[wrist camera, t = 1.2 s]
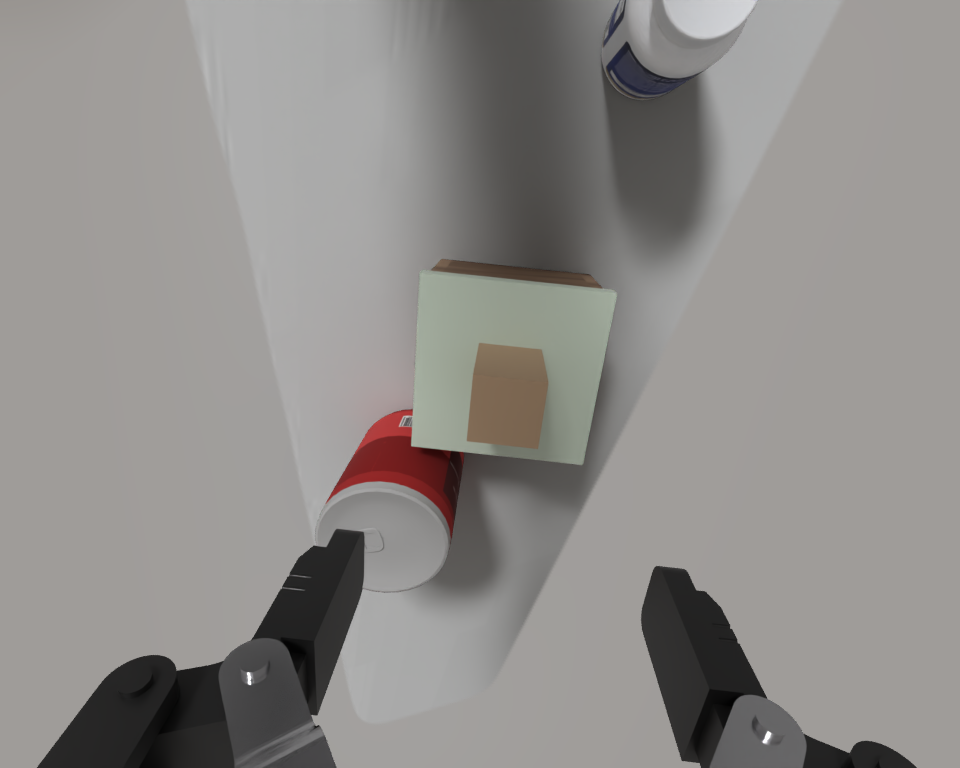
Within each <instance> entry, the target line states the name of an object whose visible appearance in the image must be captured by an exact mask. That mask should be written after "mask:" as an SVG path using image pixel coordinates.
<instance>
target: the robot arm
mask: <svg viewBox="0 0 960 768" xmlns="http://www.w3.org/2000/svg"><path fill="white" fill-rule="evenodd" d="M364 548H365V536H364V532H362V531H353V530H345V529H336V530H335V531H334V533H333V535H332V537H331V539H330V541H329V543H328V545H327V547H321V546H313V547H311V548H310V549H309V550H308V551H307V552H305V553H304V554H303V555H302V556H300V557H299V558H298V560H297V562H296V563H295V565H294V567H293V569H292V570H291V572H290V575H289V577H287V579H286V581H285V583H284V584H283V586H282V589H281V590H280V591H279V593H278V595H277V597H276V598H275V600H274V602H273V604H272V606H271V607H270V609H269V611H268V612H267V614H266V616H265V618H264V619H263V621H262V623H261V625H260V626H259V628H258V630H257V632H256V633H255V635H254V637H253V638H252V640H251V641H248V642H246V643H244V644H242V645H240V646H239V647H237V648H236V649H234V650H233V651H232V652H231V653H230V654H229V655H228V656H227V657H226V659H225V660H224V661H222V662H219V663H216V664H212V665H208V666H202V667H196V668H191V669H185V670H180V671H176V667H175V664H174V663H173V662H172V661H171V660H170V659H169V658H167V657H164V656H160V655H149V656H143V657H139V658H136V659H134V660H131V661H129V662H127V663H125V664H123V665H121V666H120V667H118V668H117V669H115V670H114V671H113V672H111V673H110V674H109V675H108V676H107V677H106V678H105V679H104V680H103V681H102V683H101V684H100V685H99V686H98V688H97V689H96V691H95V692H94V693H93V694H92V696H91V697H90V698H89V700H88V701H87V702H86V704H85V705H84V706H83V708H82V709H81V710H80V712H79V713H78V714H77V715H76V717H75V718H74V720H73V721H72V722H71V723H70V725H69V726H68V727H67V729H66V730H65V731H64V733H63V734H62V735H61V737H60V738H59V740H58V741H57V742H56V743H55V745H54V746H53V747H52V748H51V750H50V751H49V753H48V754H47V755H46V757H45V758H44V759H43V760H42V762H41V763H40V764H39V766H38V767H37V768H336V765H335V762H334V760H333V757H332V754H331V751H330V748H329V746H328V743H327V740H326V737H325V735H324V733H323V731H322V729H321V727H320V726H319V725H318V726H315V724H314V722H313V720H312V716H311V715H318V712H319V709H320V706H321V704H322V701H323V698H324V696H325V693H326V690H327V687H328V685H329V682H330V679H331V676H332V674H333V671H334V668H335V665H336V663H337V660H338V657H339V654H340V652H341V649H342V646H343V643H344V641H345V638H346V635H347V632H348V630H349V627H350V624H351V621H352V619H353V616H354V613H355V610H356V608H357V605H358V602H359V599H360V596H361V592H362V588H363V582H364ZM641 623H642V631H643V635H644V638H645V641H646V645H647V648H648V651H649V654H650V658H651V661H652V664H653V668H654V671H655V674H656V677H657V681H658V684H659V687H660V691H661V694H662V697H663V700H664V704H665V707H666V710H667V714H668V717H669V720H670V723H671V727H672V730H673V733H674V737H675V740H676V743H677V747H678V750H679V752H680V756H681V760H682V761H688V762H696V763H700V766H701V768H916V766H914V765H913V764H912V763H911V762H910V761H909V760H907V759H906V758H905V757H903V756H902V755H901V754H899V753H898V752H896V751H894V750H893V749H891V748H889V747H887V746H884V745H882V744H879V743H876V742H872V741H861V742H858V743H856V744H855V745H854V746H853V748H852V750H851V752H850V753H847V752H845V751H842V750H840V749H838V748H835V747H833V746H830V745H828V744H825V743H823V742H820V741H818V740H816V739H813V738H811V737H809V736H807V735H805V734H803V732H802V730H801V729H800V727H799V725H798V724H797V722H796V721H795V720H794V719H793V718H792V717H791V716H790V715H789V714H788V713H787V712H786V711H785V710H784V709H783V708H781V707H780V706H779V705H777V704H775V703H774V702H772V701H770V700H768V699H767V697H766V695H765V693H764V691H763V689H762V687H761V685H760V683H759V681H758V679H757V678H756V676H755V673H754V672H753V669H752V668H751V666H750V664H749V662H748V660H747V658H746V656H745V654H744V652H743V650H742V648H741V646H740V644H738V643H737V638H736V636H735V634H734V632H733V630H732V629H730V624H729V622H728V620H727V619H726V616H725V615H724V613H723V611H722V609H721V607H720V606H719V605H718V604H717V603H716V602H715V601H714V600H713V599H712V598H711V597H710V596H709V595H708V594H707V593H706V592H705V591H696V589H695V587H694V585H693V583H692V581H691V579H690V576H689V574H688V572H687V571H686V570H685V569H679V568H670V567H662V566H656V567H655V568H654V570H653V572H652V576H651V580H650V583H649V586H648V590H647V593H646V597H645V600H644V604H643V607H642V614H641Z"/></svg>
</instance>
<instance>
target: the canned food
mask: <svg viewBox="0 0 960 768" xmlns="http://www.w3.org/2000/svg"><path fill="white" fill-rule="evenodd" d="M412 418H413V409H411V410H401V411H397V412H394V413H392V414H389V415H387V416H385V417H383V418H381V419H380V420H379V421H377V422H376V423H375V424H374V425H373V426H372V427H371V428H370V429H369V430H368V432H367V434H366V435H365V437H364V439H363V440H362V442H361V444H360V445H359V447H358V449H357V451H356V452H355V454H354V456H353V457H352V459H351V461H350V462H349V464H348V466H347V468H346V469H345V471H344V473H343V474H342V476H341V478H340V479H339V481H338V483H337V484H336V486H335V488H334V490H333V491H332V493H331V495H330V497H329V498H328V500H327V502H326V504H325V506H324V508H323V509H322V511H321V513H320V516H319V519H318V521H317V525H316V529H315V541H316V545H317V546H321V547H327V545H328V543H329V541H330V539H331V537H332V535H333V533H334V531H335V530H336V529H345V530H353V531H362V532H364V536H365V548H364V582H363V588H362V589H366V590H370V591H375V592H384V593H388V592H401V591H406V590H410V589H413V588H416V587H419V586H421V585H423V584H424V583H426V582H428V581H429V580H431V579H432V578H433V577H434V576H435V575H436V574H437V573H438V572H439V571H440V569H441V568H442V566H443V565H444V563H445V560H446V558H447V554H448V552H449V549H450V543H451V538H452V533H453V526H454V520H455V513H456V507H457V501H458V494H459V488H460V481H461V475H462V468H463V461H464V453H463V452H459V451H450V450H441V449H432V448H423V447H414V446H411V439H412Z"/></svg>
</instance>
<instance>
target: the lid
mask: <svg viewBox="0 0 960 768" xmlns="http://www.w3.org/2000/svg"><path fill="white" fill-rule="evenodd" d="M616 298H617V293H616V292H615V291H614V290H610V289H600V288H591V287H581V286H572V285H562V284H553V283H543V282H534V281H524V280H515V279H505V278H496V277H486V276H477V275H467V274H458V273H448V272H439V271H429V270H422V271H421V272H420V273H419V294H418V315H417V335H416V356H415V377H414V398H413V418H412V439H411V446H414V447H423V448H432V449H441V450H450V451H459V452H468V453H477V454H486V455H495V456H504V457H513V458H522V459H531V460H540V461H550V462H559V463H568V464H577V465H583V462H584V457H585V452H586V447H587V442H588V437H589V432H590V427H591V422H592V417H593V412H594V407H595V402H596V397H597V392H598V387H599V382H600V377H601V372H602V367H603V362H604V357H605V352H606V347H607V343H608V338H609V333H610V328H611V323H612V318H613V313H614V308H615V303H616Z"/></svg>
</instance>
